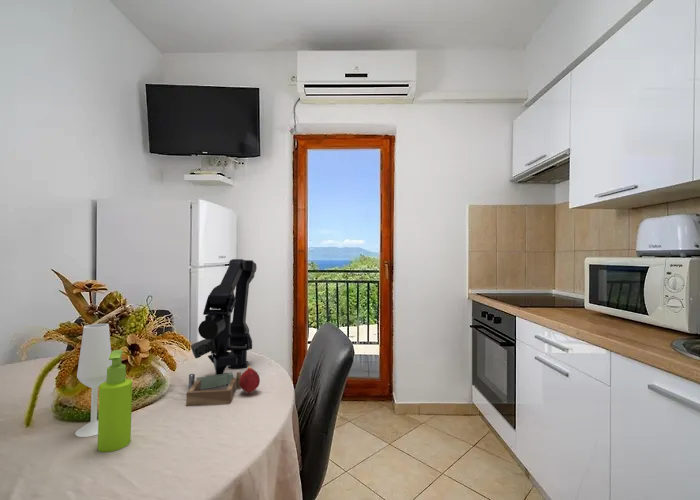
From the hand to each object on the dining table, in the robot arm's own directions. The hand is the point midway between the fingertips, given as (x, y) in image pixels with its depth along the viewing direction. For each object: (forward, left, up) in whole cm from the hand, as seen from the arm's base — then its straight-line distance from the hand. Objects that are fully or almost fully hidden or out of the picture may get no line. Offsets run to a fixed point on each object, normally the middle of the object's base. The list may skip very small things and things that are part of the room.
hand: (218, 378), depth 111 cm
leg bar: (+2, -1, -1) cm, 3 cm away
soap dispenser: (+35, -14, -1) cm, 38 cm away
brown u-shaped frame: (+11, +1, -1) cm, 11 cm away
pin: (+5, -7, -1) cm, 9 cm away
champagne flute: (+27, -22, -1) cm, 35 cm away
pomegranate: (+10, +11, -1) cm, 15 cm away
